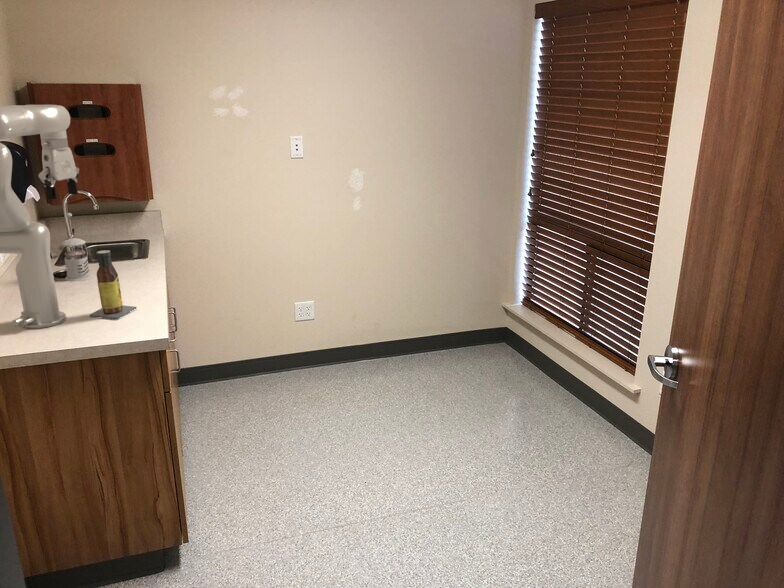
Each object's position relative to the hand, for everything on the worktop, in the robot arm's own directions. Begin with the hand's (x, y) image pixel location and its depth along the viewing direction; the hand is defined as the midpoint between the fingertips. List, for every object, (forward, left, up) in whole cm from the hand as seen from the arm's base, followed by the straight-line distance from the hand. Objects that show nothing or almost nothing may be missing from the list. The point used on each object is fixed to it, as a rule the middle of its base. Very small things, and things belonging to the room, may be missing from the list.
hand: (63, 196), depth 200 cm
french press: (+16, +12, -34) cm, 40 cm away
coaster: (-14, -24, -34) cm, 44 cm away
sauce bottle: (-14, -24, -34) cm, 44 cm away
